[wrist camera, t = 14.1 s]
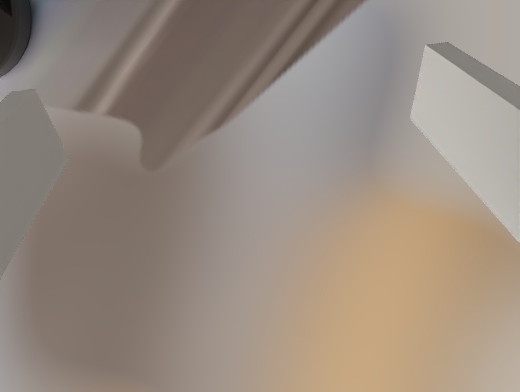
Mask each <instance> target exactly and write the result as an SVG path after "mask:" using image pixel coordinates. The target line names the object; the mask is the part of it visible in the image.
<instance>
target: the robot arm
mask: <svg viewBox="0 0 520 392" xmlns="http://www.w3.org/2000/svg"><path fill="white" fill-rule="evenodd" d="M30 29H31V9H30V2H29V0H0V77H1V76H3V75H4V74H6V73H7V72H8V71H10V70H11V69H12V68H13V67H14V66H15V65H16V64H17V62H18V61H19V60H20V58H21V57H22V55H23V53H24V51H25V49H26V46H27V43H28V40H29V35H30ZM410 119H411V120H412V121H413V122H414V124H415V125H416V126H417V127H418V128H419V129H420V130H421V131H422V133H423V134H424V135H425V136H426V137H427V138H428V140H429V141H430V142H431V143H432V144H433V145H434V146H435V147H436V148H437V150H438V151H439V152H440V153H441V154H442V155H443V156H444V158H445V159H446V160H447V161H448V162H449V163H450V164H451V166H452V167H453V168H454V169H455V170H456V171H457V172H458V174H459V175H460V176H461V177H462V178H463V179H464V180H465V181H466V183H467V184H468V185H469V186H470V187H471V188H472V190H473V191H474V192H475V193H476V194H477V195H478V196H479V197H480V199H481V200H482V201H483V202H484V203H485V204H486V205H487V207H488V208H489V209H490V210H491V211H492V212H493V213H494V215H495V216H496V217H497V218H498V219H499V220H500V221H501V223H502V224H503V225H504V226H505V227H506V228H507V229H508V230H509V232H510V233H511V234H512V235H513V236H514V237H515V238H516V240H517V241H518V242H519V243H520V86H518V85H517V84H515V83H513V82H512V81H510V80H508V79H507V78H505V77H504V76H502V75H500V74H498V73H497V72H495V71H494V70H492V69H491V68H489V67H487V66H486V65H484V64H482V63H481V62H479V61H478V60H476V59H474V58H473V57H471V56H469V55H468V54H466V53H464V52H463V51H461V50H460V49H458V48H456V47H455V46H453V45H452V44H450V43H448V42H445V43H437V44H428V45H425V49H424V54H423V59H422V64H421V69H420V74H419V78H418V83H417V88H416V93H415V98H414V102H413V108H412V112H411V117H410ZM69 159H70V158H69V155H68V153H67V151H66V149H65V147H64V146H63V143H62V141H61V139H60V138H59V136H58V134H57V132H56V130H55V128H54V126H53V124H52V122H51V120H50V118H49V116H48V114H47V112H46V110H45V108H44V106H43V104H42V102H41V100H40V98H39V96H38V94H37V92H36V90H35V89H30V90H21V91H13V92H11V93H10V94H9V95H7V96H6V97H5V98H4V99H3V100H2V101H1V102H0V278H1V276H2V275H3V273H4V271H5V269H6V268H7V266H8V264H9V263H10V261H11V259H12V257H13V256H14V254H15V252H16V250H17V249H18V247H19V245H20V244H21V242H22V240H23V238H24V236H25V235H26V233H27V231H28V230H29V228H30V226H31V225H32V223H33V221H34V219H35V218H36V216H37V214H38V212H39V211H40V209H41V207H42V206H43V204H44V202H45V200H46V199H47V197H48V195H49V194H50V192H51V190H52V188H53V187H54V185H55V183H56V181H57V180H58V178H59V176H60V175H61V173H62V171H63V169H64V168H65V166H66V164H67V162H68V161H69Z"/></svg>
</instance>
